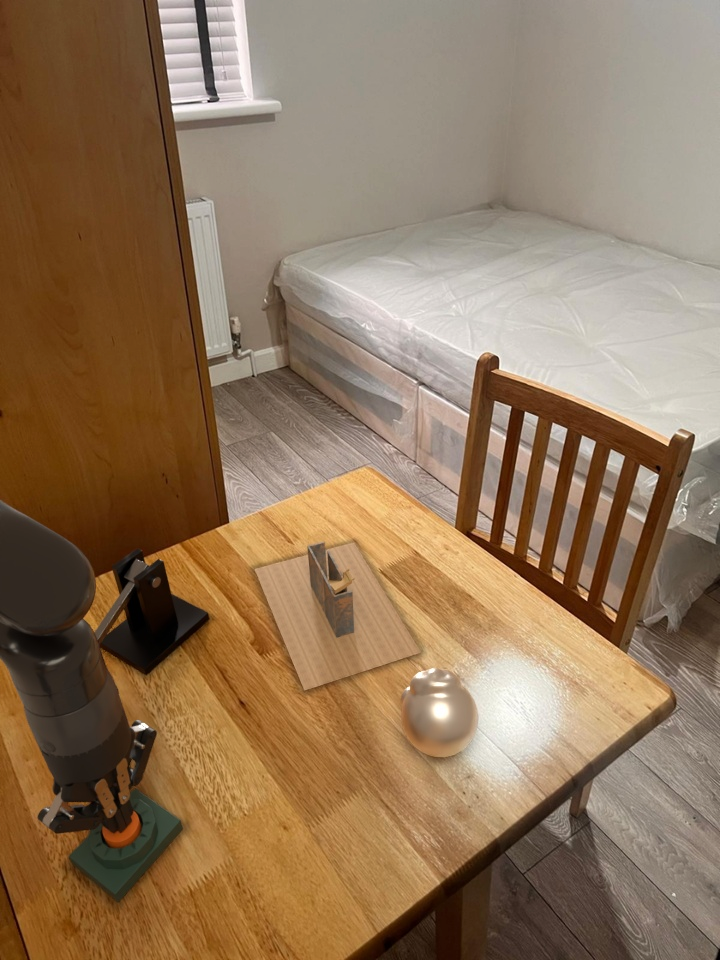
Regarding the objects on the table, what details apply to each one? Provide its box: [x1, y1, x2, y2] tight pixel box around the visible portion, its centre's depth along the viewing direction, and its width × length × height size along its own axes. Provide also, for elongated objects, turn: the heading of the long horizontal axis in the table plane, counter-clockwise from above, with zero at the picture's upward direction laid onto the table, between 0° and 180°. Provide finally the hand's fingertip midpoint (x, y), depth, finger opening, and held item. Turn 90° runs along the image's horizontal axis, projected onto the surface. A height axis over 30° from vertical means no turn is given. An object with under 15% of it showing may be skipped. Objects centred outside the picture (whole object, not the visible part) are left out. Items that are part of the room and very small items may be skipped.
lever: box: [94, 559, 150, 646], centre depth 93 cm, size 16×3×3 cm, turn 148°
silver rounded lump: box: [399, 667, 479, 758], centre depth 84 cm, size 9×10×10 cm
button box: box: [68, 787, 184, 903], centre depth 76 cm, size 9×7×4 cm
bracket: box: [100, 547, 210, 677], centre depth 98 cm, size 12×9×13 cm
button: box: [102, 811, 142, 848], centre depth 75 cm, size 4×4×2 cm
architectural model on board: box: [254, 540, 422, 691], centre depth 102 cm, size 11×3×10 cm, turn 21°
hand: (119, 823), depth 74 cm, fingers closed
